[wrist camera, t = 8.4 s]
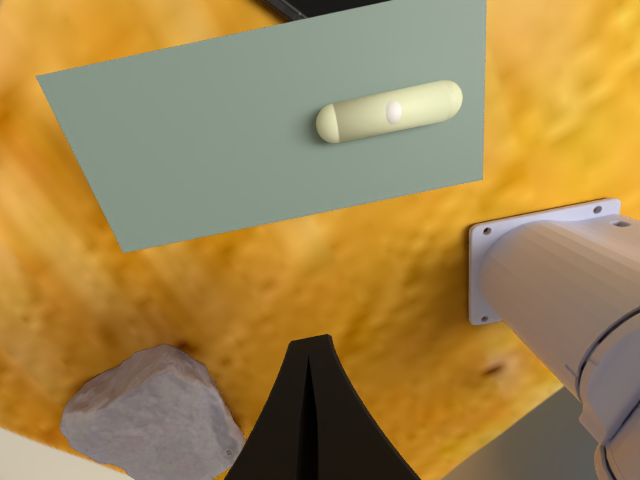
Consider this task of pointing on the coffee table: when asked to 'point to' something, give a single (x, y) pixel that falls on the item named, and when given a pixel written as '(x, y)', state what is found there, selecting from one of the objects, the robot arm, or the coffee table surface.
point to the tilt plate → (279, 120)
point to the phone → (315, 7)
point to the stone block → (154, 418)
